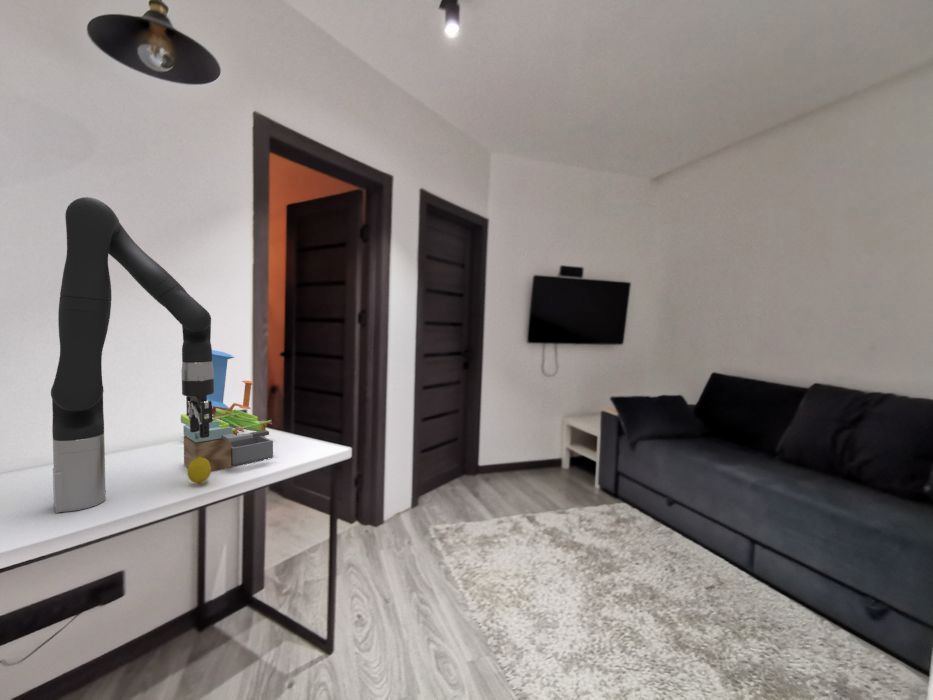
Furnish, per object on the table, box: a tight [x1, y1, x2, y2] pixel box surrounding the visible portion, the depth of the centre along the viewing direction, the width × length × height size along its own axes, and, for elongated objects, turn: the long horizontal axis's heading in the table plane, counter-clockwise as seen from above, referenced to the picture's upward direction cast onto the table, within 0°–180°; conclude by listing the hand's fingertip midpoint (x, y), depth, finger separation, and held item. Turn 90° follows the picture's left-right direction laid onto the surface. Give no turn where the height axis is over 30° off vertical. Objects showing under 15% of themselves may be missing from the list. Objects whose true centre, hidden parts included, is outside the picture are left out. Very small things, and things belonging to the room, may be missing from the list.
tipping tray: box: [183, 421, 270, 442], centre depth 130 cm, size 19×19×3 cm
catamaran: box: [180, 349, 273, 438], centre depth 155 cm, size 18×32×35 cm, turn 70°
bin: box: [231, 436, 274, 468], centre depth 138 cm, size 13×13×6 cm
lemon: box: [187, 457, 212, 485], centre depth 115 cm, size 6×6×8 cm
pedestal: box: [183, 435, 232, 473], centre depth 129 cm, size 10×13×10 cm
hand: (199, 434), depth 114 cm, fingers open, 8 cm apart
